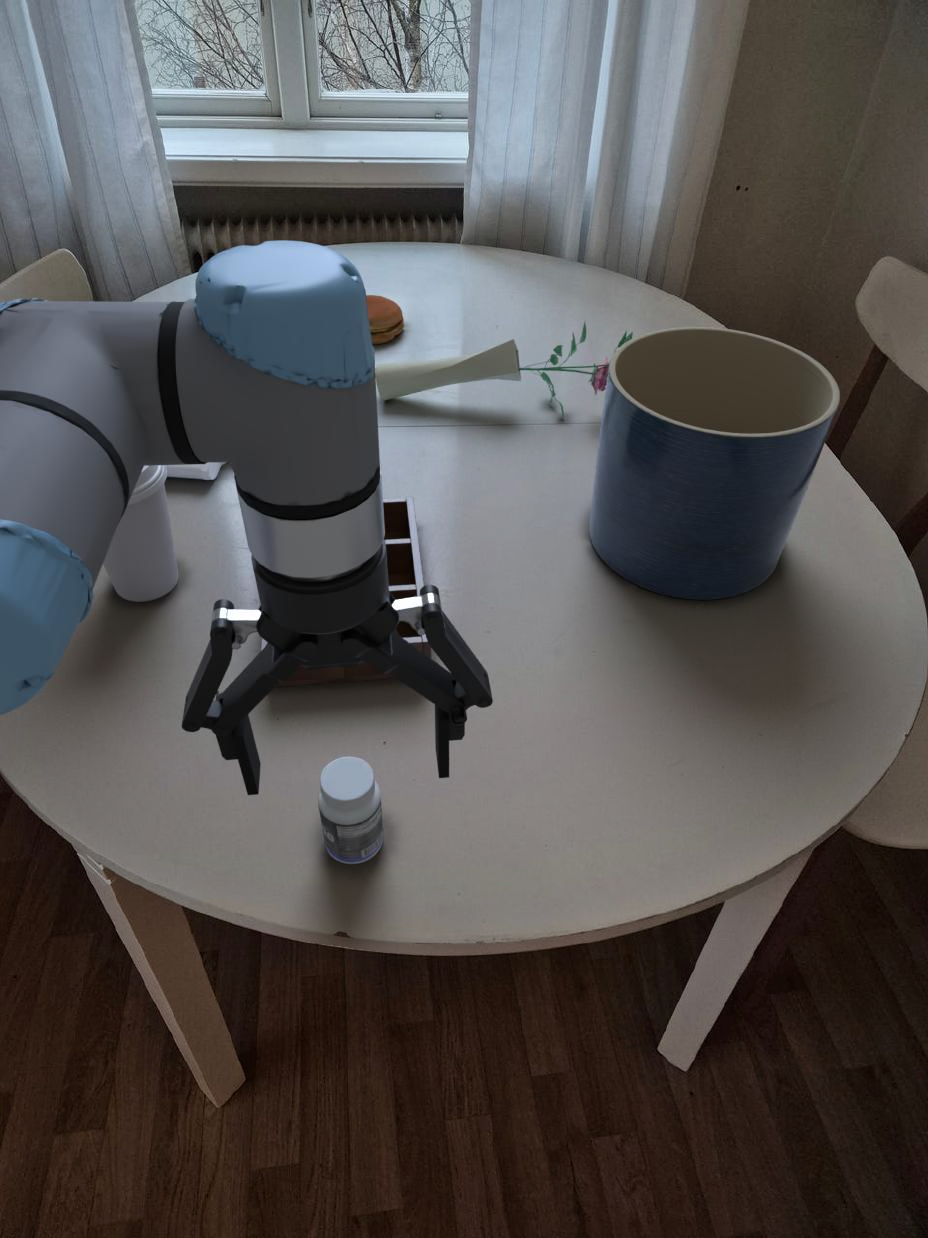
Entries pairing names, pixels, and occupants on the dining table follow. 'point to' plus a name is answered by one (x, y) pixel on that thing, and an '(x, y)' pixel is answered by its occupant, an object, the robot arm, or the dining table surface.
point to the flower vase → (477, 370)
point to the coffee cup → (144, 542)
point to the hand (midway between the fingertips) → (349, 771)
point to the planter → (705, 458)
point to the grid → (402, 584)
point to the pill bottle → (350, 810)
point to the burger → (383, 319)
